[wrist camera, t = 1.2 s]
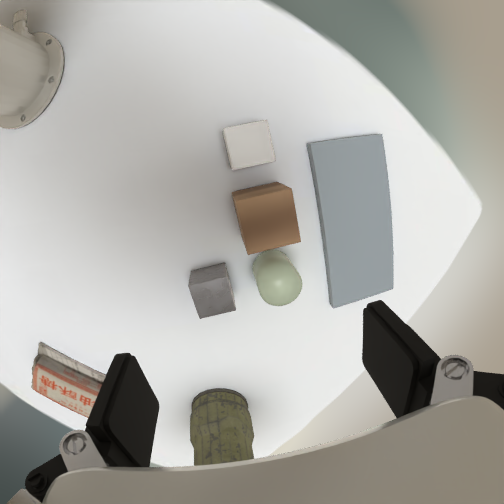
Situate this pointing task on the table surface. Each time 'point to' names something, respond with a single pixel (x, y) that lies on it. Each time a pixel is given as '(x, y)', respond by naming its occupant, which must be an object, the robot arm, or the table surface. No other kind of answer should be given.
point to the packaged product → (65, 380)
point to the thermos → (220, 428)
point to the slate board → (354, 216)
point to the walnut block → (266, 217)
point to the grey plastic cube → (249, 144)
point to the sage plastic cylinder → (276, 278)
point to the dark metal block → (211, 290)
